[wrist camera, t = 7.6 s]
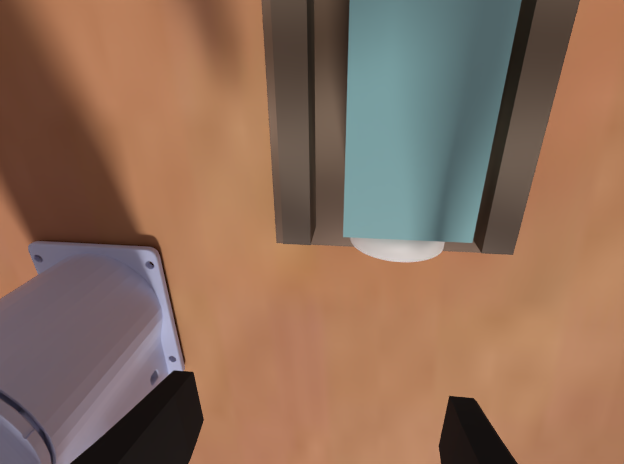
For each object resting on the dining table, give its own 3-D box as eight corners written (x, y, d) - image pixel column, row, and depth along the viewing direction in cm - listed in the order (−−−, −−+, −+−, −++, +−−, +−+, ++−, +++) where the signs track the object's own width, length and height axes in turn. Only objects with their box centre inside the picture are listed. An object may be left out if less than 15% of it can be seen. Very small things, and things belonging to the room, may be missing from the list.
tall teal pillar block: (436, 217, 16) (465, 276, 11) (347, 214, 16) (342, 269, 12) (490, -150, 11) (585, -315, 6) (359, -140, 11) (357, -282, 7)
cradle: (501, 244, 17) (527, 277, 14) (280, 234, 18) (266, 262, 16) (619, -240, 10) (712, -353, 8) (256, -200, 12) (224, -282, 9)
